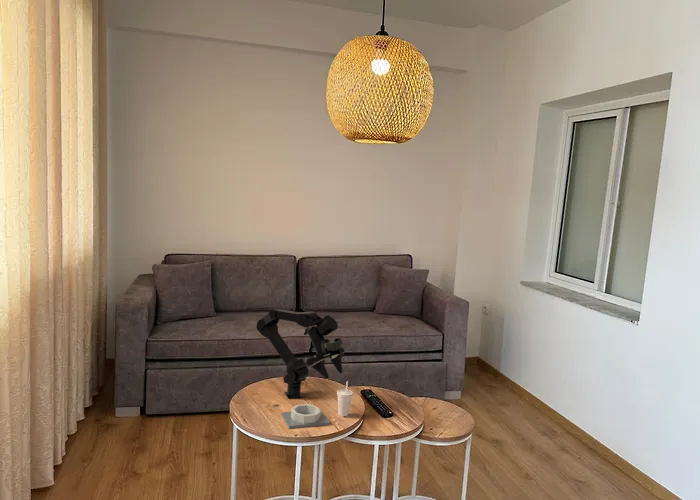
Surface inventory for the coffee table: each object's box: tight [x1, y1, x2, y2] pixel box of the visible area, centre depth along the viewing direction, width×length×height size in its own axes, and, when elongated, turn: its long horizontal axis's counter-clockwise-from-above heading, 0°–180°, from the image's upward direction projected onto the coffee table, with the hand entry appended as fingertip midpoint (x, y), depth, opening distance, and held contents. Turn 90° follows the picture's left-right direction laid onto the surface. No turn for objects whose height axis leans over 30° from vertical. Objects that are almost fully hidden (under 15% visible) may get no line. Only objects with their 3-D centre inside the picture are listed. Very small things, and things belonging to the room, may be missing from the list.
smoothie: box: [336, 380, 354, 417], centre depth 204 cm, size 6×6×14 cm
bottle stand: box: [280, 403, 331, 429], centre depth 197 cm, size 12×16×4 cm
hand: (334, 375), depth 207 cm, fingers open, 9 cm apart
